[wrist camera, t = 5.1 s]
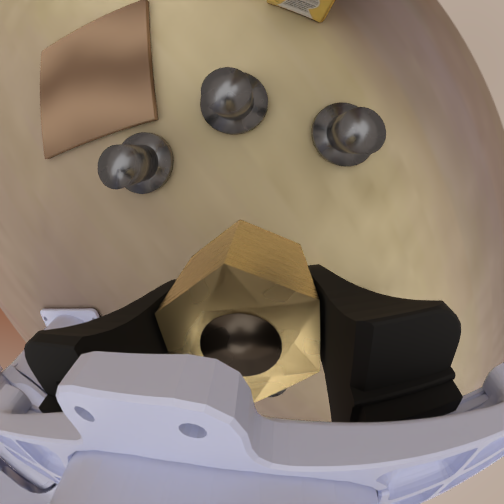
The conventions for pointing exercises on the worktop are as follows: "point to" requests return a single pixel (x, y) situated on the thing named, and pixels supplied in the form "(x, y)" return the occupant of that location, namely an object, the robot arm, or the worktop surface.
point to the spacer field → (237, 122)
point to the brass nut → (247, 309)
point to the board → (97, 80)
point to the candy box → (306, 7)
